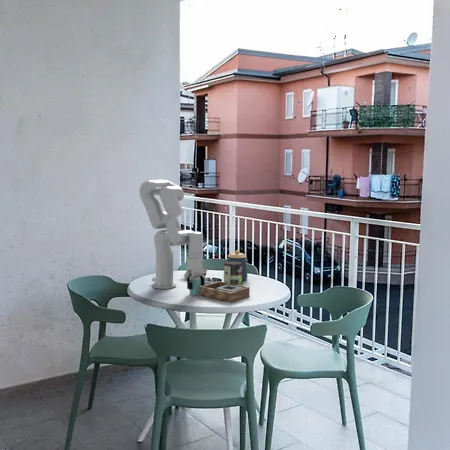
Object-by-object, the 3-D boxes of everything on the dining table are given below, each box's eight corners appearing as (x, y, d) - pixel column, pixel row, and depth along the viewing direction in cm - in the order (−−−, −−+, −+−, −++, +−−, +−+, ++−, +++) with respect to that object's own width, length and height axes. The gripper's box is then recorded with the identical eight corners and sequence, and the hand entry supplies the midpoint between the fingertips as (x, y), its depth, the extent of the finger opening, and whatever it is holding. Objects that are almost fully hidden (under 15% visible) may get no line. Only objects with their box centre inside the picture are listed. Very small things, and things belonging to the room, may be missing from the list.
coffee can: (244, 286, 288) (244, 261, 287) (238, 290, 279) (238, 265, 277) (227, 284, 292) (227, 260, 290) (220, 288, 282) (221, 263, 281)
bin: (200, 296, 266) (200, 286, 265) (218, 290, 278) (218, 281, 278) (231, 302, 254) (231, 293, 253) (249, 296, 267) (249, 287, 266)
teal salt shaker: (189, 293, 270) (189, 277, 269) (194, 292, 273) (194, 275, 272) (195, 295, 267) (195, 278, 266) (200, 293, 271) (200, 277, 270)
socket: (215, 295, 263) (216, 288, 263) (227, 291, 271) (227, 284, 271) (231, 299, 257) (231, 291, 257) (242, 295, 265) (243, 287, 265)
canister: (231, 276, 314) (231, 247, 312) (250, 278, 309) (251, 249, 307) (222, 280, 302) (222, 250, 300) (242, 282, 297) (242, 252, 295)
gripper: (200, 252, 277) (200, 283, 279) (179, 257, 263) (179, 289, 265) (211, 254, 272) (211, 285, 274) (190, 258, 259) (190, 291, 260)
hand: (195, 287), depth 269 cm, fingers open, 9 cm apart
